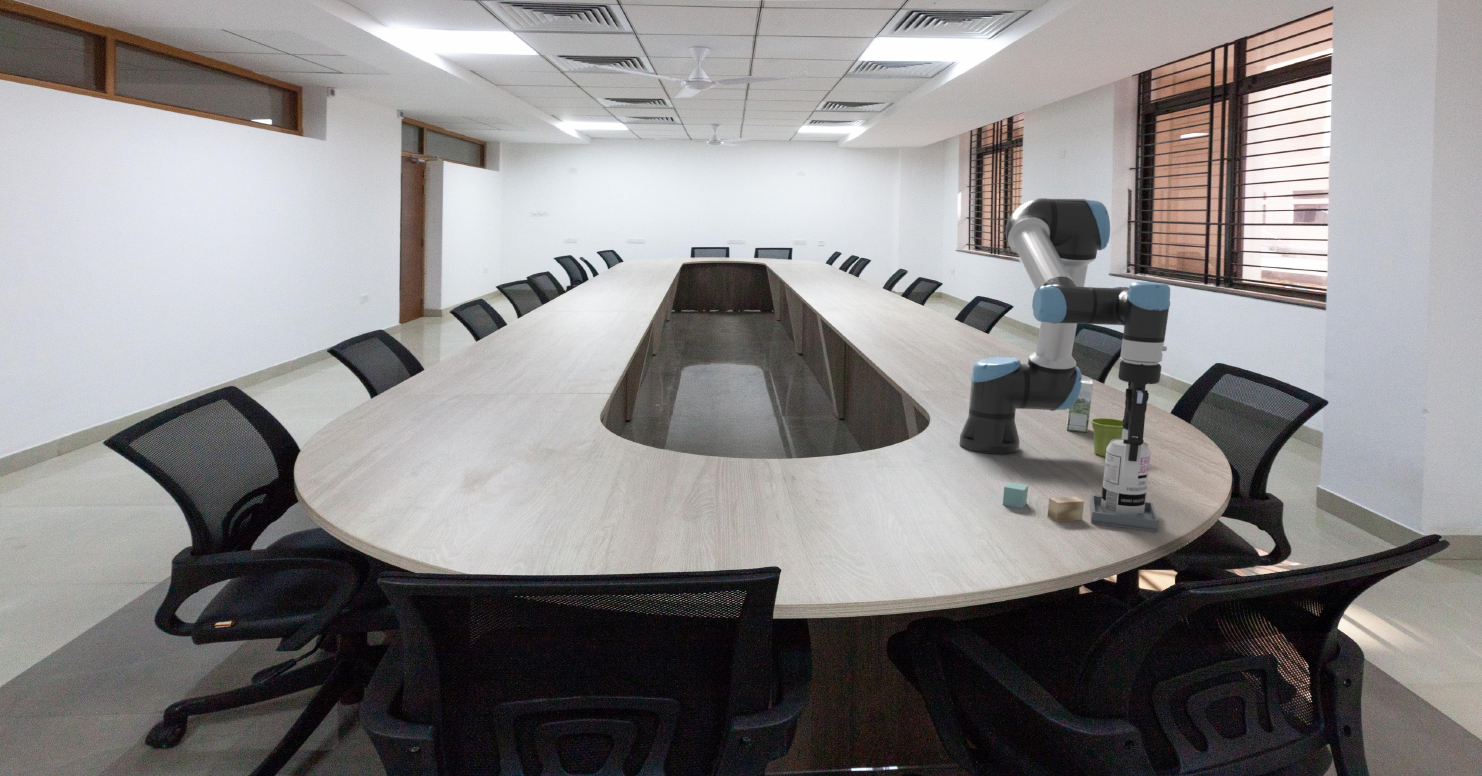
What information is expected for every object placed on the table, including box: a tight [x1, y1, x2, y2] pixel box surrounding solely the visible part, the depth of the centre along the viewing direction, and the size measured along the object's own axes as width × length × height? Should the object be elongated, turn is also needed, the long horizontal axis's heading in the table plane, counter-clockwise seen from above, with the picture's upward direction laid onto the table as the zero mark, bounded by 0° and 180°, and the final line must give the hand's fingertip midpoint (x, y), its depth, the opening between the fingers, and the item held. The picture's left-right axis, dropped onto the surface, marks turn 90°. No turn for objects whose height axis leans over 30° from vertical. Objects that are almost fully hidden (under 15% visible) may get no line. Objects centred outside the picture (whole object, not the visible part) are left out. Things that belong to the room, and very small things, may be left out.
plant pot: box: [1090, 417, 1125, 458], centre depth 232 cm, size 9×9×9 cm
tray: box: [1089, 494, 1159, 533], centre depth 183 cm, size 12×12×2 cm
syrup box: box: [1066, 378, 1094, 433], centre depth 258 cm, size 6×6×14 cm
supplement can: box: [1101, 439, 1151, 517], centre depth 182 cm, size 8×8×15 cm
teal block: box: [1002, 481, 1029, 509], centre depth 190 cm, size 4×4×4 cm
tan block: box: [1047, 496, 1085, 522], centre depth 182 cm, size 6×3×4 cm, turn 105°
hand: (1127, 468), depth 181 cm, fingers open, 11 cm apart
